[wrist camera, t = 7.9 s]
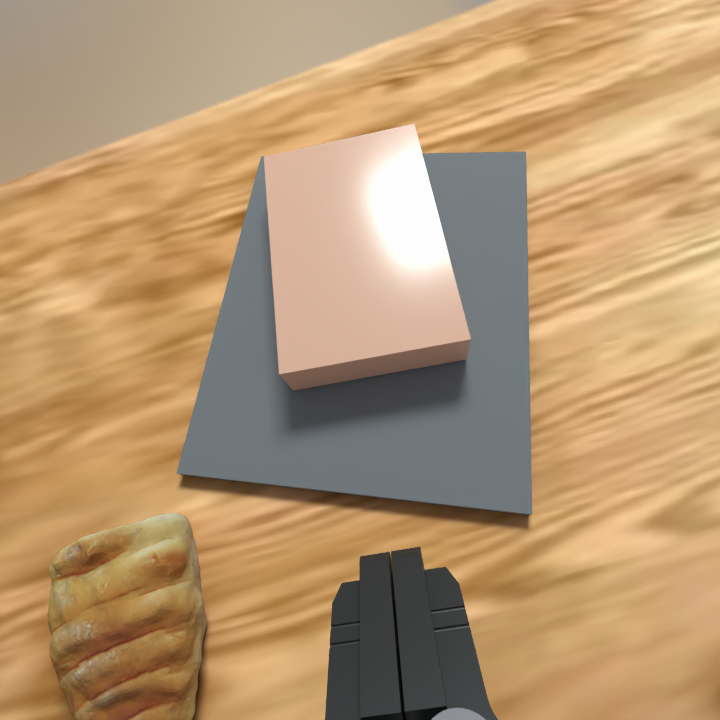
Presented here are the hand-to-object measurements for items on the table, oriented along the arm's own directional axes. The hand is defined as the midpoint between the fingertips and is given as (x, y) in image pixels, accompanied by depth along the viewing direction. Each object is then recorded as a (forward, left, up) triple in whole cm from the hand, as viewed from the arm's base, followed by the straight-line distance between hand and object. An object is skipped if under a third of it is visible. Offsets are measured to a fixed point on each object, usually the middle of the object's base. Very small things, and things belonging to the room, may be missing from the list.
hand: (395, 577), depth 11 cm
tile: (-2, +9, -8) cm, 12 cm away
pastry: (-12, -4, -10) cm, 16 cm away
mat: (-3, +13, -10) cm, 17 cm away
